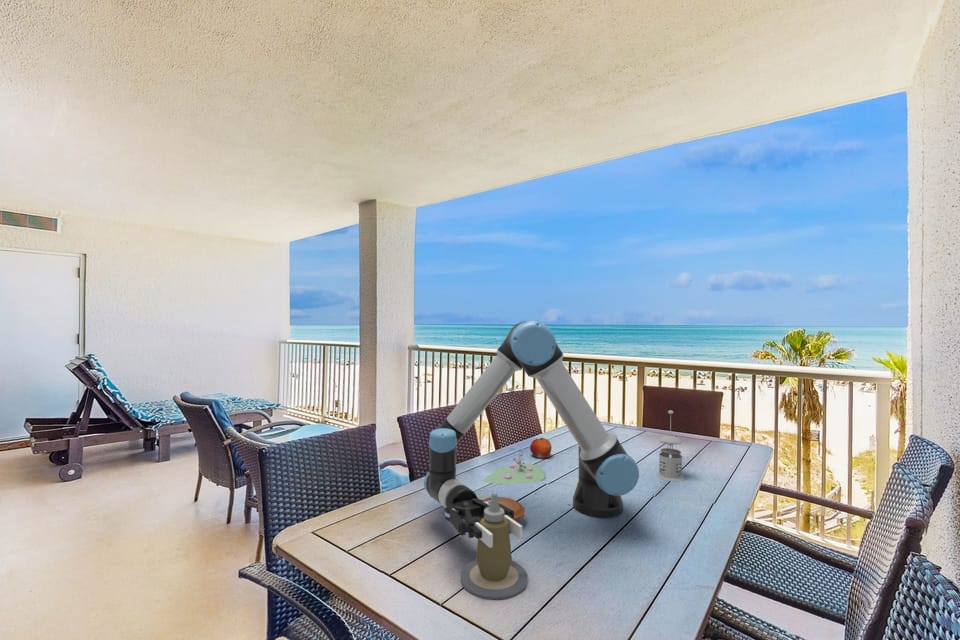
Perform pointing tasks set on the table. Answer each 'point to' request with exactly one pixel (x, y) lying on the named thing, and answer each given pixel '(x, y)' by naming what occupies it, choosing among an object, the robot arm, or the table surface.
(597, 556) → the table surface
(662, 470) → the french press
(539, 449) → the tomato
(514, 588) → the coaster
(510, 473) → the plant
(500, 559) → the squeeze bottle
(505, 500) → the pie
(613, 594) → the table surface
